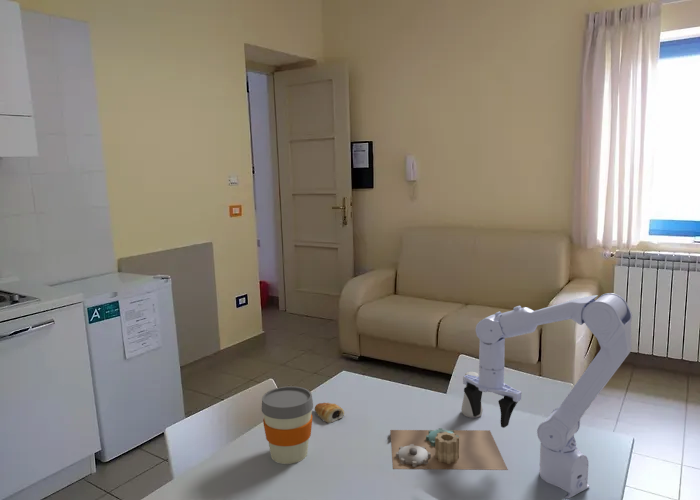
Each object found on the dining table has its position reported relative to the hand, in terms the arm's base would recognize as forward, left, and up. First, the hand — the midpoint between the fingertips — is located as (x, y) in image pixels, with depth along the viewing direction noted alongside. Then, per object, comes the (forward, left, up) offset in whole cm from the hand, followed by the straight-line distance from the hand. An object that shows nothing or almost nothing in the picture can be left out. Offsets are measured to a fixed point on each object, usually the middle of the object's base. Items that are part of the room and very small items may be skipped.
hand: (490, 420), depth 122 cm
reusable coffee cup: (+28, +40, -10) cm, 50 cm away
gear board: (+7, +8, -9) cm, 14 cm away
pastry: (+40, +22, -10) cm, 47 cm away
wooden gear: (+4, +10, -8) cm, 13 cm away
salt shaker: (+17, -11, -10) cm, 22 cm away
